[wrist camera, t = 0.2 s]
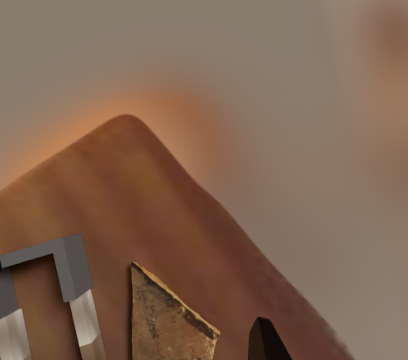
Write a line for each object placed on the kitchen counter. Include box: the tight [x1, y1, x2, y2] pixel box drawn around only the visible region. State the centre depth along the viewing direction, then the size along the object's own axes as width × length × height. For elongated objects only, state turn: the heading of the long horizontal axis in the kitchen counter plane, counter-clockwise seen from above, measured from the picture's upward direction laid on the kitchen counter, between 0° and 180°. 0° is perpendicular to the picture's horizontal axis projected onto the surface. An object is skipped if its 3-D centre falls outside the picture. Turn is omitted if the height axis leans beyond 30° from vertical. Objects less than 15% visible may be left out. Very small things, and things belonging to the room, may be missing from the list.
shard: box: [131, 261, 220, 360], centre depth 22 cm, size 11×8×2 cm
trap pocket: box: [0, 233, 93, 319], centre depth 21 cm, size 5×8×3 cm, turn 106°
